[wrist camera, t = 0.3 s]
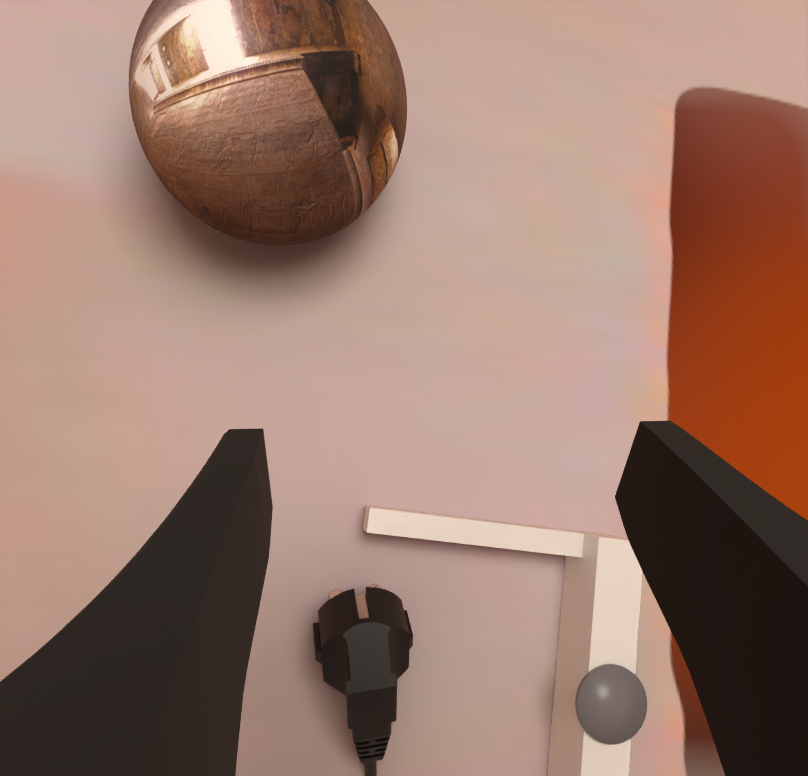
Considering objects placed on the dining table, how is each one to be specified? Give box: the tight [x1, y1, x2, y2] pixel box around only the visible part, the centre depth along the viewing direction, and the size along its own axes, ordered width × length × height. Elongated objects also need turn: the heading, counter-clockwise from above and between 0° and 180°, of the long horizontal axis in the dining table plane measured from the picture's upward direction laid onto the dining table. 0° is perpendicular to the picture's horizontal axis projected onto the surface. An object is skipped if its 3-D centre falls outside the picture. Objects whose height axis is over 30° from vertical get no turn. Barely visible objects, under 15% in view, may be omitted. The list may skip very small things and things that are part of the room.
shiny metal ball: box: [129, 0, 407, 245], centre depth 35 cm, size 15×15×15 cm
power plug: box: [313, 583, 413, 776], centre depth 38 cm, size 6×8×12 cm
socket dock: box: [363, 506, 647, 776], centre depth 38 cm, size 19×18×5 cm
